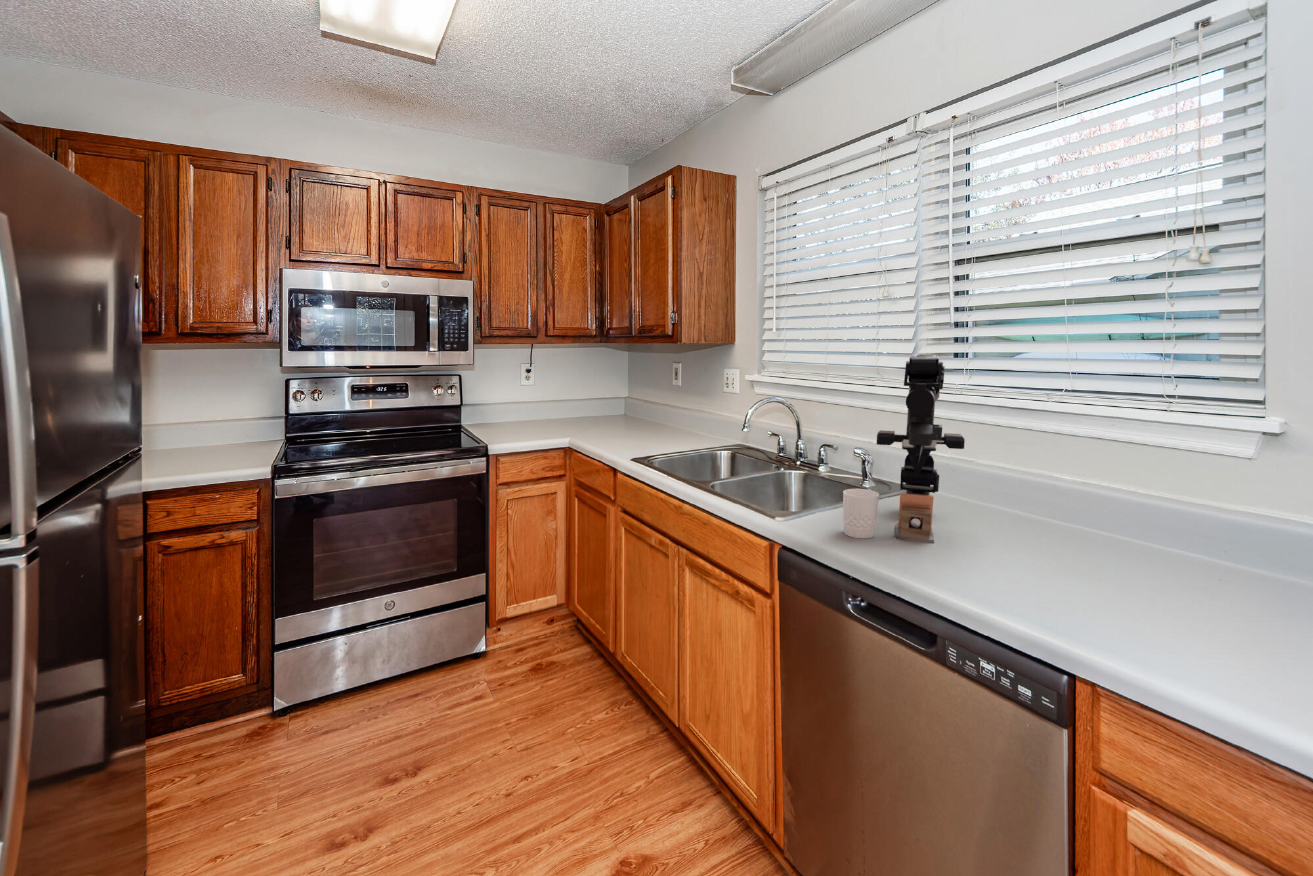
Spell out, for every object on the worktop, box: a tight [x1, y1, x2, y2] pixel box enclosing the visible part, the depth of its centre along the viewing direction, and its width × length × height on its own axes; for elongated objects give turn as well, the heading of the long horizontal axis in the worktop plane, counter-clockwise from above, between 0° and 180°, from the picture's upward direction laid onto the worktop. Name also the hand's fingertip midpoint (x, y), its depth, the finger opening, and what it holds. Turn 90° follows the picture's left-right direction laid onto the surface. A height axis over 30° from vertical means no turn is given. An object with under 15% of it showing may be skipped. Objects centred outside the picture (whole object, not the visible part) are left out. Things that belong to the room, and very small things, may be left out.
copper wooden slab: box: [898, 492, 934, 533], centre depth 133 cm, size 5×7×9 cm
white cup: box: [842, 488, 880, 539], centre depth 135 cm, size 8×8×10 cm
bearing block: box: [895, 507, 935, 544], centre depth 135 cm, size 10×8×7 cm
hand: (916, 475), depth 139 cm, fingers closed
